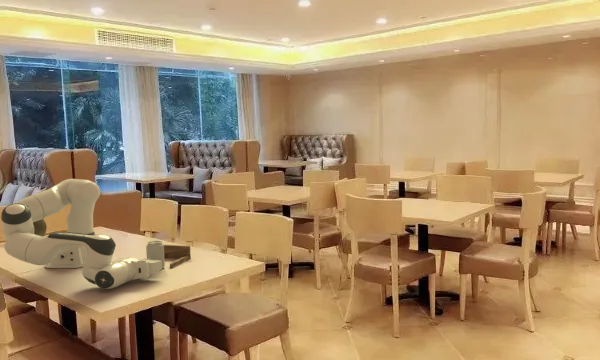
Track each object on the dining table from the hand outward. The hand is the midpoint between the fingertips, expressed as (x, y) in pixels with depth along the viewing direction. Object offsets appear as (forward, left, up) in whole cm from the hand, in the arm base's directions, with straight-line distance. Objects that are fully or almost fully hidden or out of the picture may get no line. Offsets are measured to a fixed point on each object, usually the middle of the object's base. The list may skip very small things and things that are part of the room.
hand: (147, 260), depth 216 cm
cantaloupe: (-73, +86, -6) cm, 113 cm away
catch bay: (+7, +17, -5) cm, 19 cm away
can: (+3, +7, -6) cm, 10 cm away
